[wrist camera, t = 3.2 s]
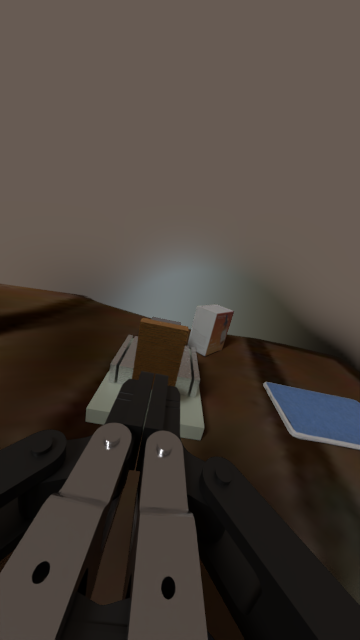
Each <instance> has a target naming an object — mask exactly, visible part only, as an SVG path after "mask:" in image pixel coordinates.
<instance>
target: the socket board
mask: <svg viewBox="0 0 360 640" xmlns="http://www.w3.org/2000/svg"><path fill="white" fill-rule="evenodd" d="M152 320H156V321H161V322H166V323H171V324H176V325H181V323H180V322H176V321H170V320H166V319H160V318H156V317H152ZM133 339H134V338H133ZM189 352H190V349H189ZM109 372H110V370H109ZM109 372H108V373H107V375H106V377H105V378H104V380H103V382H102V383H101V385H100V387H99V388H98V390H97V392H96V393H95V395H94V397H93V398H92V400H91V402H90V403H89V405H88V406H87V408H86V421H85V422H91V423H97V424H103V425H104V424H105V422H106V419H107V417H108V415H109V413H110V411H111V408H112V406H113V404H114V402H115V400H116V398H117V395H118V393H119V391H120V389H121V387H122V385H119V384H117V380H118V377H117V379H116V381H115V383H108V381H109ZM151 392H152V390H151ZM150 397H151V395H150ZM149 402H150V400H149ZM148 406H149V405H148ZM147 411H148V410H147ZM146 415H147V414H146ZM145 420H146V419H145ZM144 425H145V423H144ZM143 429H144V428H143ZM203 431H204V421H203V413H202V405H201V398H200V390H199V386H198V390H197V393H196V397H195V398H193V397H190V393H189V391H188V395H187V396H182V395H180V437H183V438H189V439H195V440H201V437H202V434H203Z"/></svg>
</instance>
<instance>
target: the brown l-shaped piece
mask: <svg viewBox="0 0 360 640" xmlns="http://www.w3.org/2000/svg"><path fill="white" fill-rule="evenodd" d="M187 335H188V327H186V326H181V325H176V324H171V323H166V322H161V321H156V320H151V319H146V318H142V320H141V322H140V329H139V335H138V342H137V348H136V355H135V361H134V368H133V374H132V379H135V380H138V379H139V376H140V373H141V371H145V372H151V373H154V379H155V374H156V373H157V374H162V375H168V376H169V378H168V385H169V386H175V385H176V381H177V377H178V373H179V368H180V364H181V360H182V356H183V352H184V348H185V343H186V339H187ZM154 379H153V383H154ZM152 388H153V384H152Z"/></svg>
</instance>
